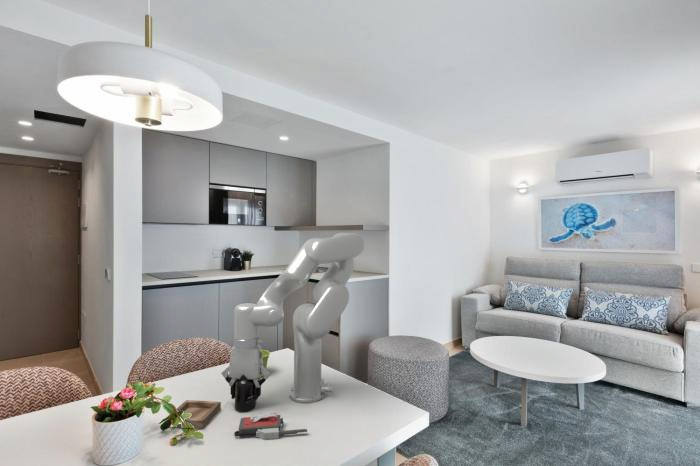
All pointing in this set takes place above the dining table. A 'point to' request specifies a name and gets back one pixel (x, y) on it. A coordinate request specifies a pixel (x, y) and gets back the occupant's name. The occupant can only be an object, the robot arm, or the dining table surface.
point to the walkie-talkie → (263, 427)
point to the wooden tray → (199, 412)
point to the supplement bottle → (244, 394)
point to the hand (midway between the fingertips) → (245, 397)
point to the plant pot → (265, 359)
